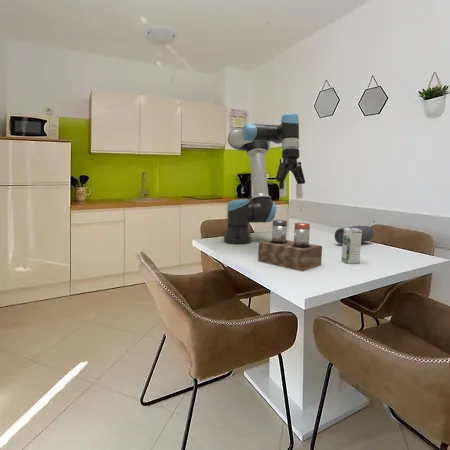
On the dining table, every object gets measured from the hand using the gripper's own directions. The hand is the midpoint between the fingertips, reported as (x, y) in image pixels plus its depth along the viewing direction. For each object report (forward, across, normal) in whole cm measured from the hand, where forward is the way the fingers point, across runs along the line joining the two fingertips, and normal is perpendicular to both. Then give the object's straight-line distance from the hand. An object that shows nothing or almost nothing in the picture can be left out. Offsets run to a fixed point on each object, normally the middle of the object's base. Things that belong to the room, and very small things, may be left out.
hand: (291, 197), depth 153 cm
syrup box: (+29, +13, -21) cm, 38 cm away
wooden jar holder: (+28, -8, -3) cm, 29 cm away
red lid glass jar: (+21, -8, -9) cm, 25 cm away
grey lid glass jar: (+20, -8, +2) cm, 22 cm away
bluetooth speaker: (+24, +54, -5) cm, 59 cm away
